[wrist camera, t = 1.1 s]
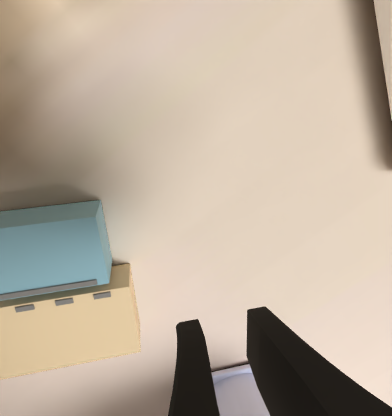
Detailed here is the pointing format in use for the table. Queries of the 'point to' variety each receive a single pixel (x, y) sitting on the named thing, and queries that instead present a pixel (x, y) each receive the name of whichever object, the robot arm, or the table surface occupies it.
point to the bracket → (385, 40)
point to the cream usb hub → (69, 326)
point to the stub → (53, 249)
